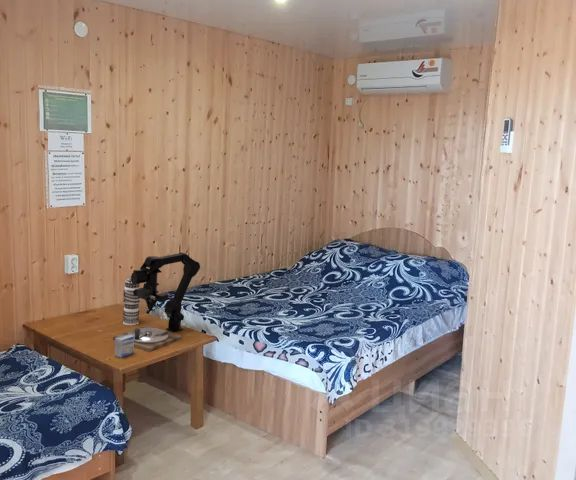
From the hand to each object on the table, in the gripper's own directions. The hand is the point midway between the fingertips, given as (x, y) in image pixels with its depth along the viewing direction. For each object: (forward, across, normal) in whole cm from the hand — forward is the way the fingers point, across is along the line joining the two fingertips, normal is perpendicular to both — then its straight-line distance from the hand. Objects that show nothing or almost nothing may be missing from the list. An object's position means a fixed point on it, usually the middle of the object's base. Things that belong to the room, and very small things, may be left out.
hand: (150, 310), depth 294 cm
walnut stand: (+13, +4, -5) cm, 14 cm away
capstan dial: (+11, +4, -5) cm, 13 cm away
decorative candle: (+13, -20, +8) cm, 25 cm away
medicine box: (+13, +9, -27) cm, 32 cm away
